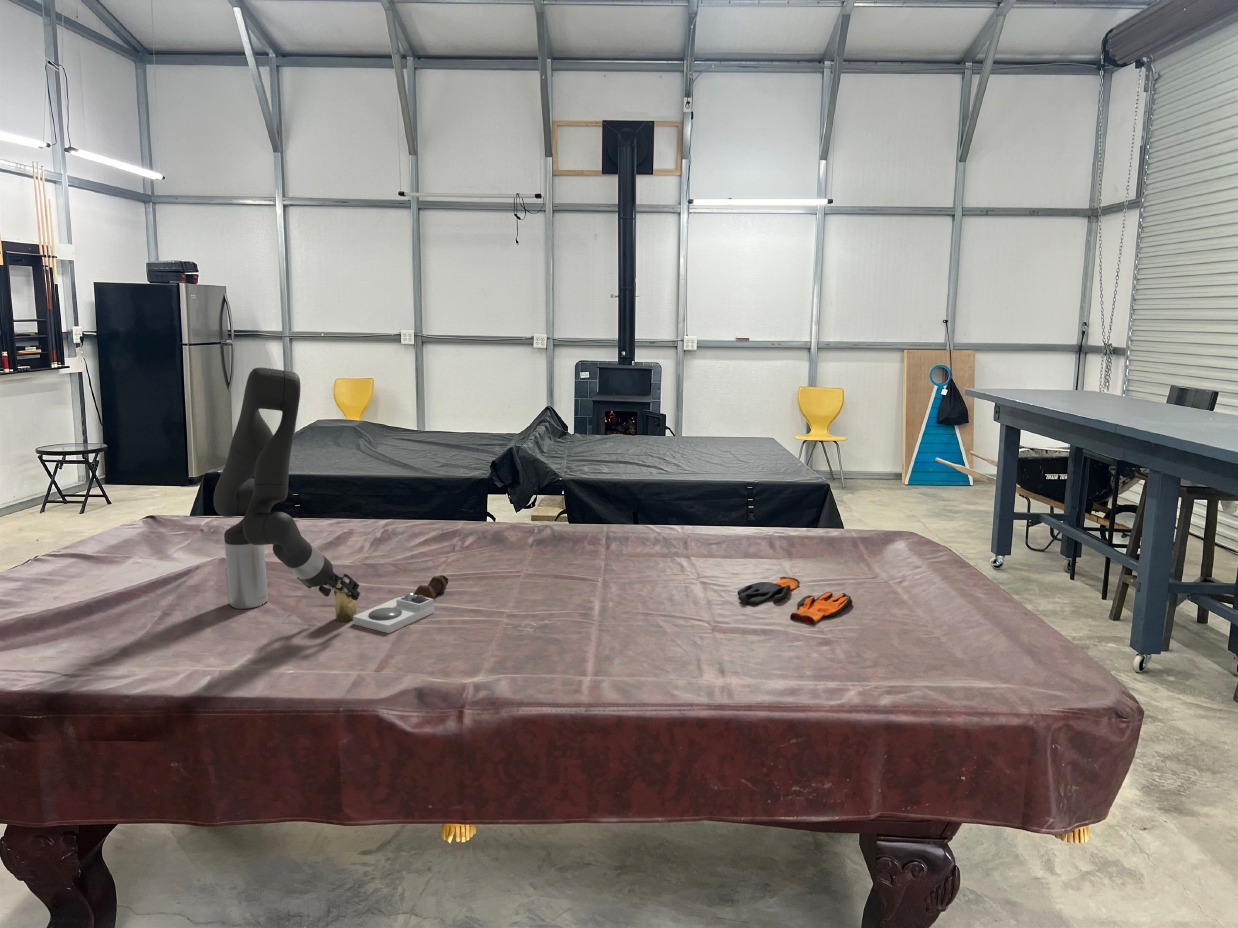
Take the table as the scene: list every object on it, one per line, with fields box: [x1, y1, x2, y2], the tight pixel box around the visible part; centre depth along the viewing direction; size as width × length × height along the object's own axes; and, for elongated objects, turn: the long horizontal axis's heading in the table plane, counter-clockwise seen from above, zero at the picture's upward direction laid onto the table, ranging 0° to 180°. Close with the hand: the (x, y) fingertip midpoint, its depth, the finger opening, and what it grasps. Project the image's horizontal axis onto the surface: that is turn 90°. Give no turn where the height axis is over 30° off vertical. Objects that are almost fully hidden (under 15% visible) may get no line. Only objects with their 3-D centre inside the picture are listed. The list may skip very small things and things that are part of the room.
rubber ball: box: [414, 595, 426, 604], centre depth 212 cm, size 3×3×3 cm
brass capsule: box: [333, 576, 358, 623], centre depth 209 cm, size 5×5×10 cm
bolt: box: [413, 575, 449, 601], centre depth 226 cm, size 6×5×15 cm
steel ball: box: [404, 592, 416, 602], centre depth 214 cm, size 3×3×3 cm
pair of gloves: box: [737, 576, 853, 625], centre depth 223 cm, size 27×24×3 cm
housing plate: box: [352, 595, 435, 634], centre depth 210 cm, size 12×16×4 cm
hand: (342, 595), depth 208 cm, fingers open, 8 cm apart
